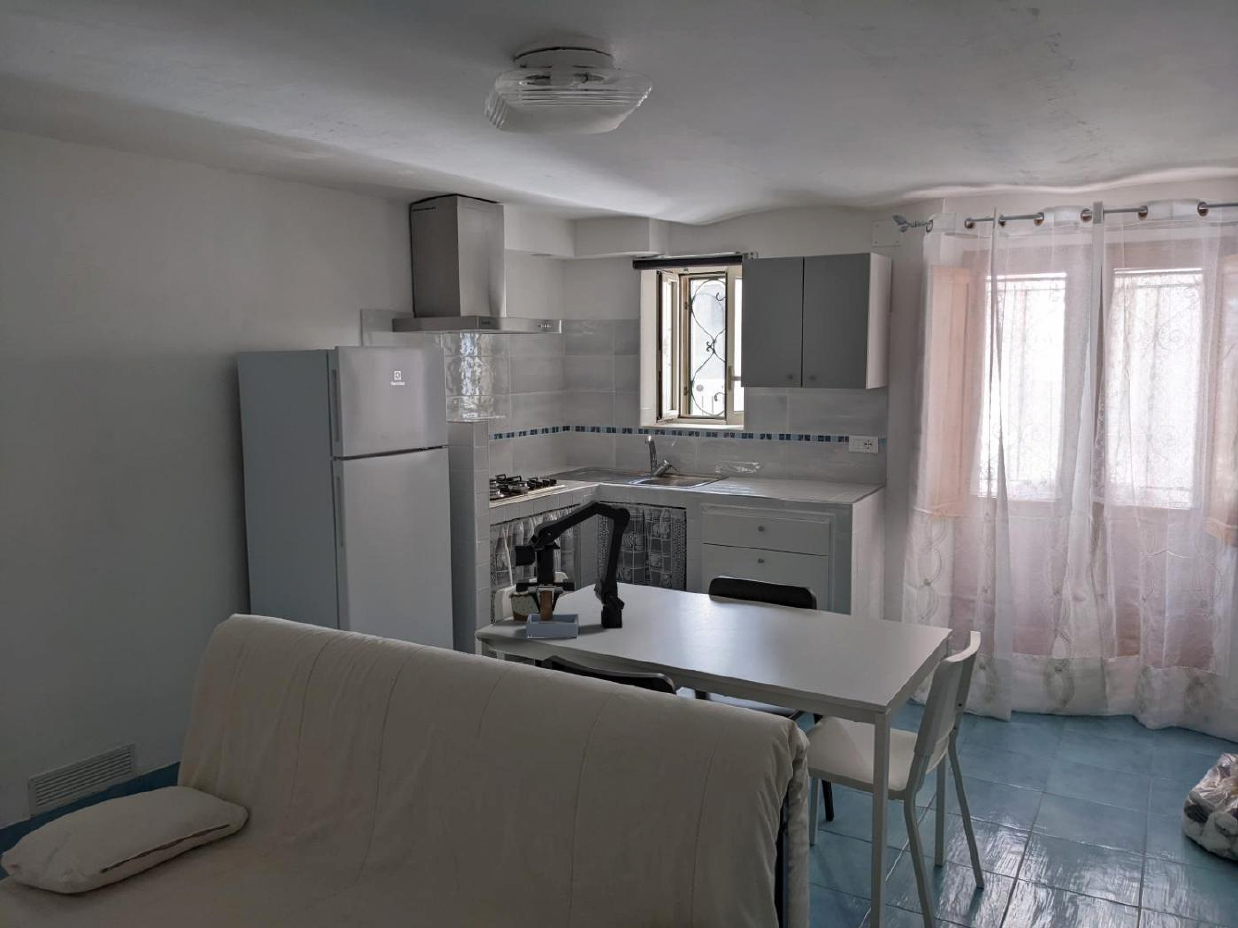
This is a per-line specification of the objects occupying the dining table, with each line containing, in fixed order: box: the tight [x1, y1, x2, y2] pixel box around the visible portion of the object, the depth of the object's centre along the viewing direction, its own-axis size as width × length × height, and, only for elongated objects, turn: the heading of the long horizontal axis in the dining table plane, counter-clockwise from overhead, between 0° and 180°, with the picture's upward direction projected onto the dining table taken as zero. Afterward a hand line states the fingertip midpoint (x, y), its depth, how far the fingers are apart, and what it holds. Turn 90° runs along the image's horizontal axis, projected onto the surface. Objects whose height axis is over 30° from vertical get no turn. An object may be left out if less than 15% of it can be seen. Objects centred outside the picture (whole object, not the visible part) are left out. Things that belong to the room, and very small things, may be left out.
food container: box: [508, 588, 543, 623], centre depth 318 cm, size 12×6×10 cm, turn 84°
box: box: [525, 613, 580, 638], centre depth 304 cm, size 16×11×4 cm
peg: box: [540, 589, 554, 621], centre depth 303 cm, size 4×4×9 cm
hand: (546, 611), depth 303 cm, fingers closed on peg, 4 cm apart
